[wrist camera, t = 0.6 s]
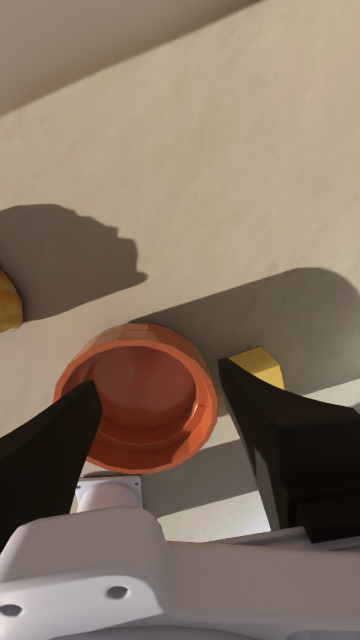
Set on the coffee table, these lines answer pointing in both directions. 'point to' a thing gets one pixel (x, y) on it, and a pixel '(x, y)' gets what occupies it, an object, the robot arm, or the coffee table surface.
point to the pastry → (9, 305)
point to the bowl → (145, 397)
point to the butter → (260, 366)
